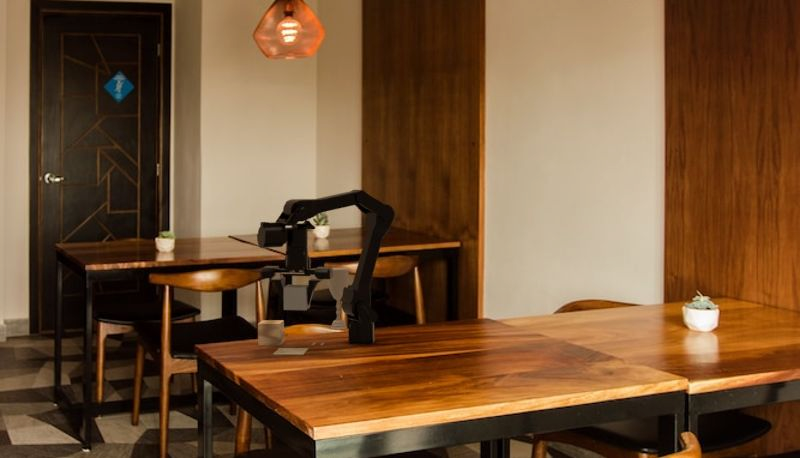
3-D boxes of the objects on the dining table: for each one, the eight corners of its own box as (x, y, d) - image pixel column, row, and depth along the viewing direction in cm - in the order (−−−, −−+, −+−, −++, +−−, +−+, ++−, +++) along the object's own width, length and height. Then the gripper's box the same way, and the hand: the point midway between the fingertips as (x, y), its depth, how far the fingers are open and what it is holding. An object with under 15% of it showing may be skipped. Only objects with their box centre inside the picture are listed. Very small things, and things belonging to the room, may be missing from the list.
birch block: (284, 341, 282) (283, 320, 281) (280, 345, 276) (279, 323, 275) (263, 341, 282) (262, 320, 282) (258, 345, 276) (257, 323, 276)
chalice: (352, 326, 308) (351, 267, 306) (349, 330, 301) (348, 270, 300) (328, 326, 308) (327, 267, 307) (324, 329, 302) (323, 270, 300)
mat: (308, 349, 271) (308, 348, 271) (303, 355, 263) (303, 354, 263) (278, 349, 272) (278, 348, 272) (272, 355, 264) (272, 353, 264)
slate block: (310, 307, 272) (310, 285, 272) (306, 310, 266) (305, 287, 266) (288, 306, 273) (288, 284, 273) (283, 309, 267) (283, 287, 267)
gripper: (336, 244, 276) (336, 301, 277) (269, 243, 278) (269, 300, 279) (329, 248, 265) (329, 307, 266) (259, 247, 266) (260, 305, 267)
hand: (296, 304), depth 270 cm, fingers closed on slate block, 6 cm apart
